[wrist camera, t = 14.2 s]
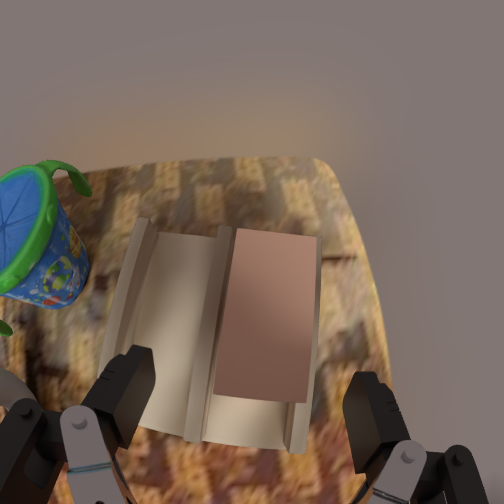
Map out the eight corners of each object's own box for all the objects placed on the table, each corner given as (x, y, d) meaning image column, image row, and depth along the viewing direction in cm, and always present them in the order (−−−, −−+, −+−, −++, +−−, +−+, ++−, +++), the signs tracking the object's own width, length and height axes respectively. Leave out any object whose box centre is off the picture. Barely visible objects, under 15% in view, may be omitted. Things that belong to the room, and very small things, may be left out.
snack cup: (78, 194, 27) (36, 130, 18) (142, 233, 25) (100, 158, 16) (2, 306, 21) (-62, 270, 12) (54, 370, 19) (-28, 351, 10)
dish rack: (116, 414, 18) (91, 419, 14) (153, 236, 25) (139, 211, 21) (293, 446, 18) (303, 460, 14) (310, 255, 24) (321, 231, 21)
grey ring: (18, 375, 18) (-56, 357, 9) (40, 370, 19) (-38, 351, 10) (47, 472, 14) (-24, 488, 5) (72, 472, 15) (0, 495, 6)
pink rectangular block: (228, 386, 19) (212, 394, 10) (240, 294, 22) (237, 228, 13) (278, 392, 19) (306, 403, 9) (287, 299, 22) (316, 237, 12)
